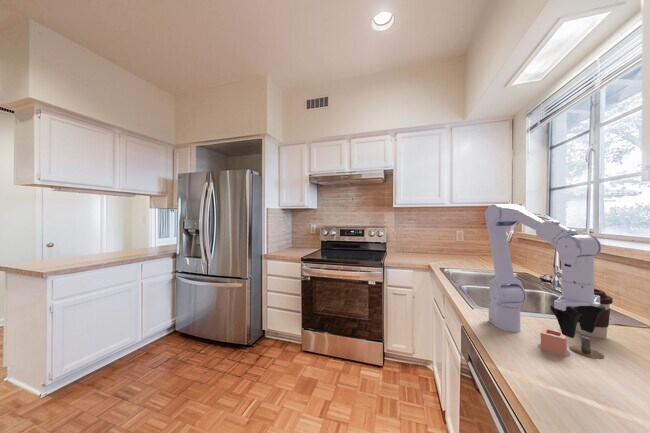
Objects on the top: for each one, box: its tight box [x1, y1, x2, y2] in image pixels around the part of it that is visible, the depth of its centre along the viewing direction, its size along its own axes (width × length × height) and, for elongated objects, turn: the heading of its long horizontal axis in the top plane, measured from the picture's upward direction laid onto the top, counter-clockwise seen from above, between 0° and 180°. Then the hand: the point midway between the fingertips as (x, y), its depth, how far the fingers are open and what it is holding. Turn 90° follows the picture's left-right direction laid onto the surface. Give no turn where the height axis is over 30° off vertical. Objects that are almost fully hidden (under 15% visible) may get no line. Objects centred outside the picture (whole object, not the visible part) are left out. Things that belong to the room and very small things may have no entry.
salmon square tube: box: [540, 326, 568, 358], centre depth 71 cm, size 5×5×5 cm
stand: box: [537, 343, 571, 358], centre depth 71 cm, size 7×7×5 cm
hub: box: [568, 335, 605, 360], centre depth 70 cm, size 7×7×5 cm
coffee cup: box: [572, 288, 614, 339], centre depth 81 cm, size 10×10×15 cm
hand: (577, 333), depth 63 cm, fingers open, 7 cm apart
